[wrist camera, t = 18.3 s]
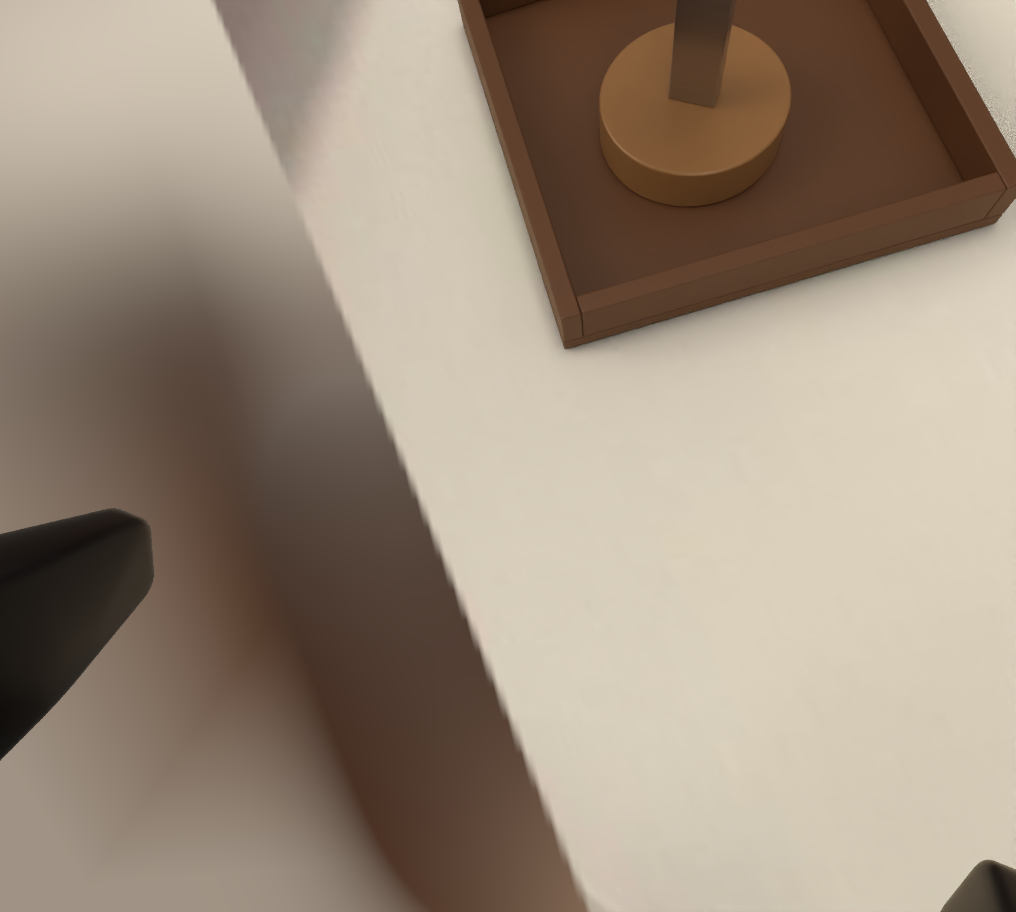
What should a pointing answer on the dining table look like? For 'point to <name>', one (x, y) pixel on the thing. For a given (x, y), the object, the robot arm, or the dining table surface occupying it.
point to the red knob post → (694, 108)
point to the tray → (777, 193)
